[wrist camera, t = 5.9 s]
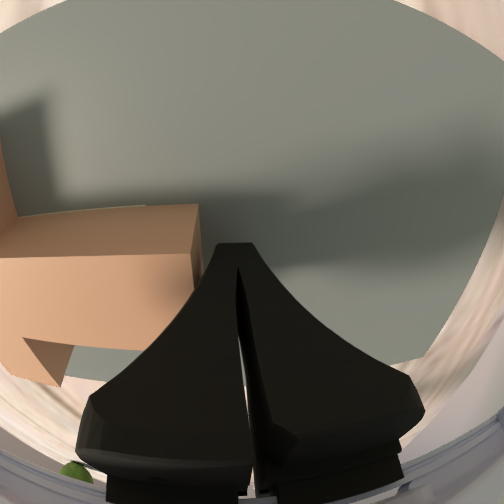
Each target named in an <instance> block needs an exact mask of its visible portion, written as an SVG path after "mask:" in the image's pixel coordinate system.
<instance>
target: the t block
mask: <svg viewBox="0 0 504 504" xmlns="http://www.w3.org/2000/svg"><path fill="white" fill-rule="evenodd" d="M203 274H204V270H203V258H202V246H201V232H200V217H199V204H173V205H153V206H135V207H120V208H107V209H94V210H83V211H72V212H62V213H53V214H44V215H35V216H27V217H19V218H18V215H17V212H16V209H15V205H14V202H13V198H12V194H11V190H10V186H9V182H8V178H7V173H6V168H5V163H4V158H3V152H2V146H1V140H0V362H1V363H2V365H3V366H4V367H5V368H6V369H7V371H8V372H9V373H10V374H11V375H14V376H17V377H21V378H24V379H28V380H32V381H35V382H39V383H43V384H48V385H52V386H56V387H61V384H62V381H63V378H64V375H65V372H66V369H67V366H68V363H69V360H70V357H71V354H72V351H73V349H74V346H75V345H79V346H88V347H99V348H110V349H124V350H142V351H144V350H145V349H146V348H148V347H149V346H150V345H151V344H152V342H153V341H154V340H155V339H156V338H157V337H158V336H159V335H160V334H161V333H162V332H163V330H164V329H165V328H166V327H167V326H168V325H169V324H170V322H171V321H172V320H173V319H174V317H175V316H176V315H177V314H178V312H179V311H180V310H181V308H182V307H183V306H184V304H185V303H186V301H187V300H188V298H189V297H190V295H191V294H192V292H193V291H194V289H195V287H196V286H197V284H198V283H199V281H200V279H201V277H202V276H203Z"/></svg>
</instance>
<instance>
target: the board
mask: <svg viewBox="0 0 504 504" xmlns="http://www.w3.org/2000/svg"><path fill="white" fill-rule="evenodd" d="M0 140H1V146H2V152H3V158H4V163H5V168H6V173H7V178H8V182H9V186H10V190H11V194H12V198H13V202H14V205H15V209H16V212H17V215H18V218H19V217H27V216H35V215H44V214H53V213H62V212H72V211H83V210H94V209H107V208H120V207H135V206H153V205H173V204H199V217H200V232H201V246H202V258H203V270H204V272H205V270H206V268H207V266H208V264H209V262H210V260H211V258H212V255H213V253H214V250H215V246H216V245H217V244H218V243H245V242H252V243H253V244H254V245H255V247H256V249H257V250H258V252H259V254H260V255H261V257H262V258H263V260H264V261H265V263H266V264H267V265H268V267H269V268H270V269H271V271H272V272H273V273H274V274H275V276H276V277H277V278H278V279H279V281H280V282H281V283H282V284H283V285H284V287H285V288H286V289H287V290H288V291H289V292H290V293H291V294H292V295H293V296H294V298H295V299H296V300H297V301H298V302H299V303H300V304H301V305H302V306H303V307H304V308H305V309H307V310H308V311H309V312H310V313H311V314H312V315H313V316H314V317H315V318H317V319H318V320H319V321H320V322H321V323H323V324H324V325H325V326H326V327H328V328H329V329H330V330H332V331H333V332H335V333H336V334H337V335H339V336H340V337H341V338H343V339H344V340H346V341H347V342H349V343H350V344H352V345H353V346H355V347H356V348H358V349H360V350H361V351H363V352H365V353H366V354H368V355H369V356H371V357H373V358H375V359H376V360H378V361H380V362H382V363H384V364H386V365H388V366H389V365H393V364H398V363H402V362H405V361H409V360H413V359H417V358H420V357H423V356H424V355H425V354H426V352H427V351H428V349H429V348H430V346H431V345H432V343H433V342H434V340H435V339H436V337H437V336H438V334H439V333H440V331H441V329H442V328H443V326H444V325H445V323H446V321H447V320H448V318H449V316H450V315H451V313H452V311H453V309H454V308H455V306H456V304H457V302H458V301H459V299H460V297H461V295H462V293H463V291H464V289H465V287H466V286H467V284H468V282H469V280H470V278H471V276H472V274H473V271H474V269H475V267H476V265H477V263H478V261H479V258H480V256H481V254H482V252H483V249H484V247H485V245H486V242H487V240H488V237H489V235H490V232H491V229H492V227H493V224H494V221H495V219H496V216H497V213H498V210H499V207H500V204H501V201H502V197H503V194H504V61H503V60H501V59H500V58H499V57H497V56H496V55H495V54H493V53H492V52H490V51H489V50H488V49H486V48H485V47H483V46H482V45H480V44H479V43H477V42H475V41H474V40H472V39H471V38H469V37H468V36H466V35H464V34H463V33H461V32H459V31H457V30H456V29H454V28H452V27H450V26H448V25H447V24H445V23H443V22H441V21H439V20H437V19H435V18H433V17H431V16H429V15H427V14H425V13H423V12H420V11H418V10H416V9H414V8H411V7H409V6H407V5H404V4H402V3H399V2H397V1H394V0H67V1H64V2H62V3H59V4H57V5H54V6H52V7H50V8H48V9H45V10H43V11H41V12H39V13H37V14H35V15H33V16H31V17H29V18H27V19H25V20H23V21H21V22H19V23H17V24H16V25H14V26H12V27H10V28H9V29H7V30H5V31H4V32H2V33H0ZM238 338H239V337H238ZM239 348H240V342H239ZM142 352H143V351H142V350H124V349H110V348H99V347H88V346H79V345H75V346H74V349H73V351H72V354H71V357H70V360H69V363H68V366H67V369H66V372H65V376H71V377H77V378H83V379H90V380H98V381H105V382H109V381H110V380H111V379H112V378H114V377H115V376H116V375H118V374H119V373H120V372H121V371H122V370H124V369H125V368H126V367H127V366H128V365H129V364H130V363H131V362H133V361H134V360H135V359H136V358H137V357H138V356H139V355H140V354H141V353H142ZM240 357H241V366H242V375H243V383H244V386H246V378H245V371H244V365H243V359H242V354H241V348H240Z"/></svg>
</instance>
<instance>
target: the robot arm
mask: <svg viewBox="0 0 504 504" xmlns="http://www.w3.org/2000/svg"><path fill="white" fill-rule="evenodd" d="M238 337H239V338H238ZM239 342H240V348H241V354H242V359H243V365H244V371H245V378H246V388H247V400H248V412H249V420H248V413H247V406H246V399H245V391H244V383H243V375H242V366H241V357H240V348H239ZM424 414H425V409H424V406H423V404H422V401H421V399H420V396H419V394H418V391H417V389H416V387H415V385H414V384H413V382H412V380H411V378H410V376H409V375H407V374H405V373H403V372H400V371H398V370H396V369H394V368H392V367H390V366H388V365H386V364H384V363H382V362H380V361H378V360H376V359H375V358H373V357H371V356H369V355H368V354H366V353H365V352H363V351H361V350H360V349H358V348H356V347H355V346H353V345H352V344H350V343H349V342H347V341H346V340H344V339H343V338H341V337H340V336H339V335H337V334H336V333H335V332H333V331H332V330H330V329H329V328H328V327H326V326H325V325H324V324H323V323H321V322H320V321H319V320H318V319H317V318H315V317H314V316H313V315H312V314H311V313H310V312H309V311H308V310H307V309H305V308H304V307H303V306H302V305H301V304H300V303H299V302H298V301H297V300H296V299H295V298H294V296H293V295H292V294H291V293H290V292H289V291H288V290H287V289H286V288H285V287H284V285H283V284H282V283H281V282H280V281H279V279H278V278H277V277H276V276H275V274H274V273H273V272H272V271H271V269H270V268H269V267H268V265H267V264H266V263H265V261H264V260H263V258H262V257H261V255H260V254H259V252H258V250H257V249H256V247H255V245H254V244H253V243H252V242H245V243H218V244H217V245H216V246H215V250H214V253H213V255H212V258H211V260H210V262H209V264H208V266H207V268H206V270H205V272H204V274H203V276H202V277H201V279H200V281H199V283H198V284H197V286H196V287H195V289H194V291H193V292H192V294H191V295H190V297H189V298H188V300H187V301H186V303H185V304H184V306H183V307H182V308H181V310H180V311H179V312H178V314H177V315H176V316H175V317H174V319H173V320H172V321H171V322H170V324H169V325H168V326H167V327H166V328H165V329H164V330H163V332H162V333H161V334H160V335H159V336H158V337H157V338H156V339H155V340H154V341H153V342H152V344H151V345H150V346H149V347H148V348H146V349H145V350H144V351H143V352H142V353H141V354H140V355H139V356H138V357H137V358H136V359H135V360H134V361H133V362H131V363H130V364H129V365H128V366H127V367H126V368H125V369H124V370H122V371H121V372H120V373H119V374H118V375H116V376H115V377H114V378H112V379H111V380H110V381H109V382H107V383H106V384H105V385H103V386H102V387H101V388H99V389H98V390H97V391H95V392H94V393H93V394H91V395H90V396H89V398H88V401H87V404H86V407H85V409H84V411H83V415H82V418H81V422H80V427H79V432H78V437H77V443H76V449H75V452H76V454H77V455H78V457H79V458H80V459H81V460H82V461H84V462H85V463H87V464H89V465H90V466H92V467H94V468H96V469H97V470H99V471H101V472H103V473H105V474H107V485H106V487H103V486H99V485H95V484H92V483H88V482H84V481H81V480H77V479H74V478H71V477H68V476H65V475H62V474H59V473H56V472H53V471H51V470H48V469H45V468H43V467H40V466H38V465H35V464H33V463H31V462H28V461H26V460H24V459H22V458H19V457H17V456H15V455H13V454H11V453H9V452H7V451H5V450H3V449H1V448H0V504H349V503H353V502H356V501H359V500H363V499H365V498H369V497H371V496H375V495H377V494H380V493H383V492H386V491H388V490H391V489H393V488H396V487H398V486H401V485H402V486H401V487H400V488H399V489H398V492H397V494H396V495H395V496H392V497H390V498H386V499H384V500H381V501H378V502H375V503H372V504H497V503H498V502H499V500H500V499H501V498H502V497H503V496H504V407H503V408H501V409H500V410H499V411H498V412H497V414H495V415H494V416H492V417H491V418H489V419H488V420H486V421H485V422H483V423H482V424H480V425H479V426H477V427H475V428H474V429H472V430H470V431H469V432H467V433H465V434H463V435H462V436H460V437H458V438H456V439H455V440H453V441H451V442H449V443H447V444H445V445H443V446H441V447H439V448H437V449H435V450H433V451H431V452H429V453H427V454H425V455H423V456H420V457H418V458H416V459H414V460H411V461H409V462H406V463H404V464H400V461H399V458H398V455H397V454H398V453H400V452H401V450H402V448H401V445H400V442H399V438H401V437H402V436H403V435H405V434H406V433H407V432H408V431H409V430H411V429H412V428H413V427H414V426H416V425H417V424H418V423H419V422H420V421H421V419H422V418H423V416H424ZM249 424H250V427H249ZM252 469H253V473H254V485H255V494H256V498H250V499H238V496H247V488H248V485H250V479H251V474H252Z"/></svg>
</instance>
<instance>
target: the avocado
mask: <svg viewBox="0 0 504 504" xmlns="http://www.w3.org/2000/svg"><path fill="white" fill-rule="evenodd" d="M59 474H62V475H65V476H68V477H71V478H74V479H77V480H81V481H84V482H88V483H92V484H94V483H93V479H92V476H91V475H90V473H89V471H88V470H87V469H85V468H84V467H83V466H81V465H80V464H78V463H74V462H70V463H67V464H66V465H65V466H64V467H62V469H61V471H60V473H59Z"/></svg>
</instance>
